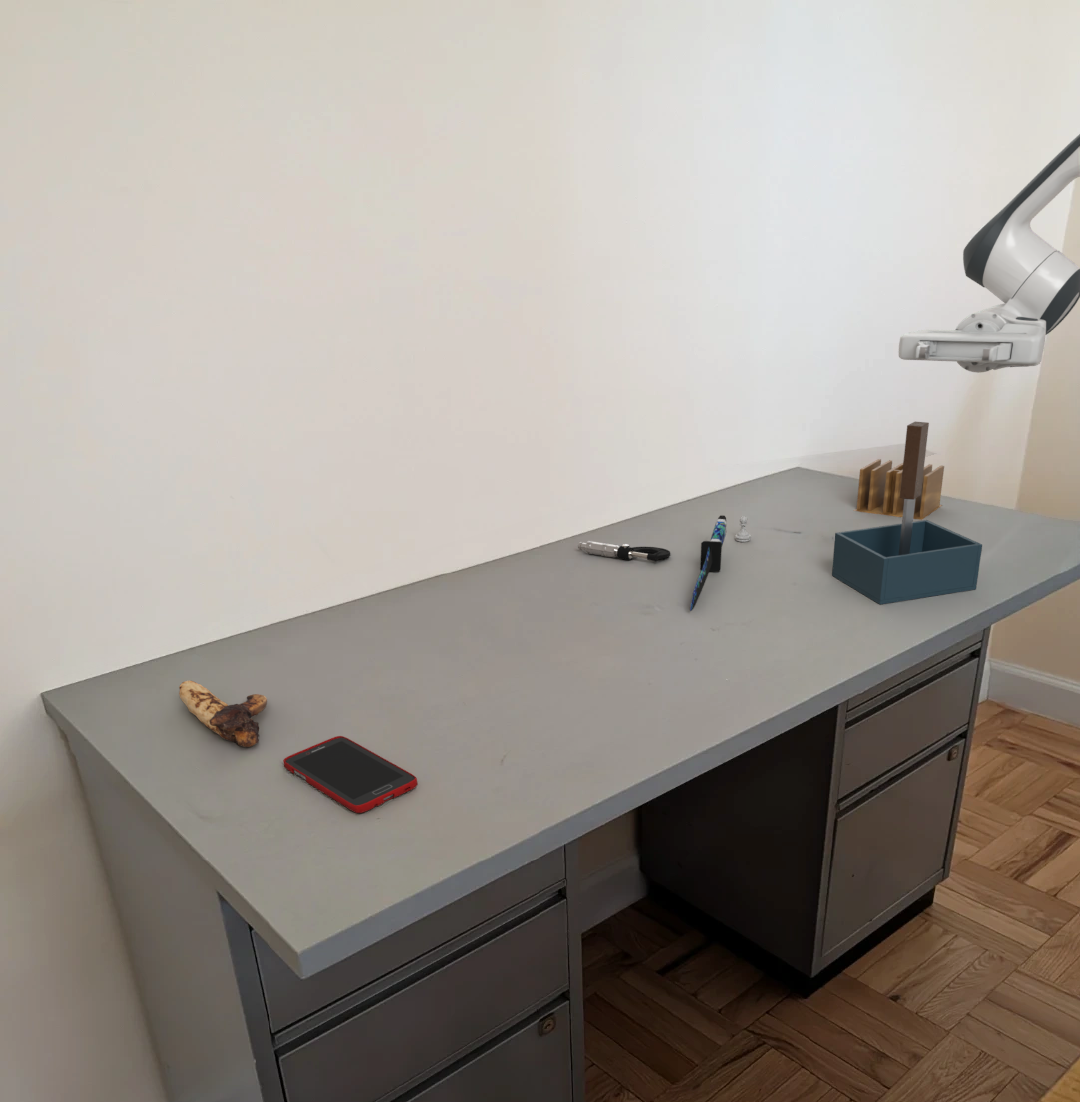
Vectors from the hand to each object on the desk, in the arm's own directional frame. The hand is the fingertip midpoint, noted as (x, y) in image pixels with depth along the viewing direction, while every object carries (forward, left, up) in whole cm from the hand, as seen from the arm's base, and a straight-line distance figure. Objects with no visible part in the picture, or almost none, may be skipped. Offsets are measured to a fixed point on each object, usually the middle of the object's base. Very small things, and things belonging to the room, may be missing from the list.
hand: (953, 354), depth 149 cm
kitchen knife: (+12, +10, -29) cm, 33 cm away
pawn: (+24, -17, -30) cm, 42 cm away
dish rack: (-6, -19, -29) cm, 36 cm away
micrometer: (+44, -18, -30) cm, 56 cm away
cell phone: (+95, +40, -29) cm, 107 cm away
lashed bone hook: (+106, +21, -30) cm, 112 cm away
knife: (+37, -2, -30) cm, 47 cm away
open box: (+12, +11, -29) cm, 33 cm away
